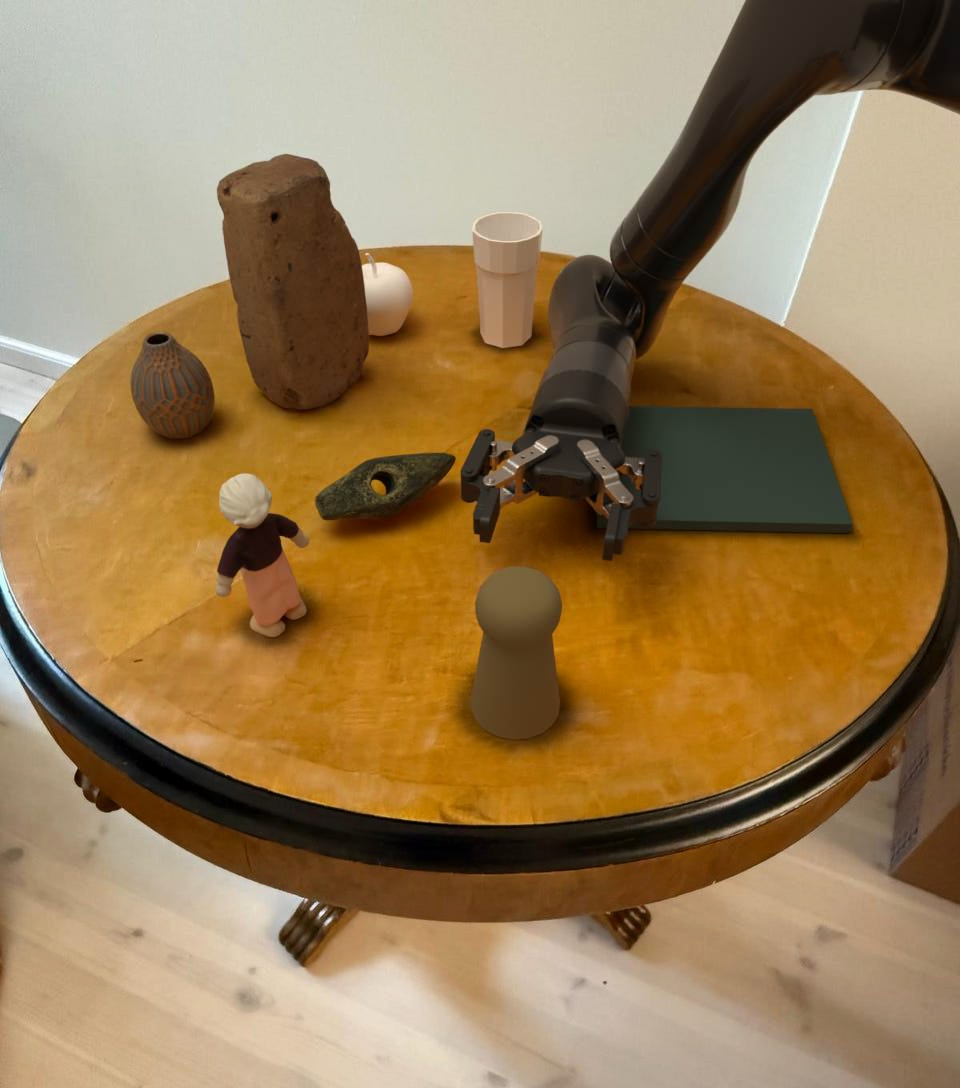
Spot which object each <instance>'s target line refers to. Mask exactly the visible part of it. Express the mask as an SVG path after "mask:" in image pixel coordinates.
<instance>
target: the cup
mask: <svg viewBox="0 0 960 1088" xmlns="http://www.w3.org/2000/svg"><path fill="white" fill-rule="evenodd" d="M471 227H472V228H471V229H472V230H471V233H472V247H473V263H474V264H475V266H476V267H475V268H476V280H477V281H476V282H477V298H478V312H479V313H478V314H479V330H480V331H479V333H480V335H481V338H482V340H483V341H484V343H485V344H487V345H490V346H494V347H497V348H501V349H507V348H513V347H521V346H524V344H525V343H527V341H528V340H530V339H531V338H532V334H533V333H532V331H533V318H534V311H535V310H534V309H535V298H536V289H537V278H538V267H539V262H540V261H541V260H540V259H541V250H542V238H543V223H542V222H541V220H539V219H538V218H536V217H535V216H532V215H530V214H527V213H523V212H515V211H497V212H493V213H488V214H485V215H483V216H480V217H478V218H476V219H475V220H474V222H473V223H472V225H471Z"/></svg>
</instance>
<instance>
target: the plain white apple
mask: <svg viewBox="0 0 960 1088" xmlns="http://www.w3.org/2000/svg"><path fill="white" fill-rule="evenodd" d="M364 255H365V256H366V258H367V260H368V261H369V263H364V264H362V271H363V277H364V285H365V296H366V305H367V316H368V329H369V336H378V337H383V336H385V337H386V336H387V335H392V334H395V333H397V332H398V331H399V330H401V328H402V326H403V325H404V322H405V320H406V319H407V315H408V313H409V311H410V309H411V306H412V303H413V297H414V290H413V285H412V283H411V280H410V277H408V275H407V273H406V272H405V271H404V270H403V269H402V268H401V267H398V266H396V265H393V264H390V263H388V262H383V261H382V262H375V260H374V259H373V257H372V256H371V254H370V253H369V252H367V253H365V254H364Z"/></svg>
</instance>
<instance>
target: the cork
mask: <svg viewBox="0 0 960 1088" xmlns="http://www.w3.org/2000/svg"><path fill="white" fill-rule="evenodd" d="M474 609H475V618H476V621H477V623H478V626H479V628H480V630H481V631H482V636H481V641H480V648H479V653H478V658H477V663H476V668H475V669H476V670H475V675H474V680H473V685H472V691H471V697H470V709H471V714H472V716H473V718H474V719H475V721H476V723H477V725H479V726H480V728H482V729H483V730H484V731H485V732H487V733H489V734H491V735H494V736H495V737H498V738H500V739H506V740H513V741H517V740H518V741H519V740H529V739H532V738H534V737H537V736H539V735H542V734H544V733H545V732H547V730H549V729H550V728H551V727H552V726H554V723H555V722H556V720H557V719H558V718H559V715H560V708H561V699H560V689H559V681H558V672H557V664H556V655H555V646H554V638H553V637H554V636H553V634H554V633H555V631H556V629H557V628H558V626H559V624H560V622H561V618H562V613H563V601H562V597H561V593H560V590H559V588H558V586H557V585H556V584H555V582H554V581H553V580H552V579H551V578H550V576H548V575H546V573H544V572H543V571H541V570H538V569H536V568H533V567H529V566H521V565H517V566H515V565H514V566H507V567H505V568H501V569H498V570H496V571H495V572H493V573H491V574H490V575H489V576H487V578H486V579H485V580H484V581H483V582H482V584H481V585H480V586H479V588H478V592H477V594H476V598H475V601H474Z"/></svg>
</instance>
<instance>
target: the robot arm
mask: <svg viewBox="0 0 960 1088" xmlns="http://www.w3.org/2000/svg"><path fill="white" fill-rule="evenodd" d="M722 46H723V47H722V49H721V51H720V52H719V54H718V57H717V58H716V61H715V63H714V64H713V66H712V68H711V71H710V72H709V74H708V76H707V79H706V80H705V82H704V85H703V86H702V89H701V90H700V92H699V94H698V95H699V96H698V97H697V99H696V101H695V104H694V106H693V108H692V110H691V112H690V113H689V116H688V118H687V120H686V122H685V124H684V126H683V128H682V130H681V132H680V133H679V135H678V138H677V139H676V141H675V143H674V145H673V146H672V148H671V150H670V151H669V153H668V155H667V156H666V158H665V160H664V161H663V163H662V164H661V166H660V167H659V168H658V170H657V172H656V173H655V175H654V176H653V178H652V179H651V181H650V182H649V183H648V184H647V186H646V187H645V189H644V190H643V191H642V192H641V195H640V196H639V197H638V199H637V200H636V201H635V203H634V204H633V206H632V207H631V209H630V210H629V211H628V212H627V214H626V215H625V217H624V218H623V219H622V221H621V222H620V224H619V226H618V227H617V228H616V230H615V232H614V233H613V235H612V238H611V241H610V244H609V260H610V261H609V260H607V259H605V258H603V257H601V256H599V255H595V254H583V255H579V256H576V257H575V258H573V259H571V260H570V261H568V262H567V263H566V264H565V265H564V266H563V267H562V269H561V270H560V271H559V273H558V274H557V276H556V278H555V280H554V282H553V286H552V288H551V291H550V295H549V300H548V308H547V310H548V312H547V314H548V315H547V317H548V326H549V332H550V337H551V343H552V349H553V350H552V353H551V356H550V359H549V362H548V365H547V366H546V369H545V370H544V371H543V374H542V376H541V378H540V381H539V383H538V386H537V390H536V393H535V396H534V399H533V402H532V404H531V405H532V406H531V409H530V411H529V414H528V417H527V420H526V424H525V426H524V430H523V433H522V435H520V436H519V437H518V438H516V439H515V440H514V441H513V442H510V441H505V440H499V439H496V432H495V431H494V430H493V429H490V428H484V429H481V430H480V431H479V432H478V434H477V436H476V438H475V440H474V441H473V445H472V446H471V448H470V451H469V453H468V454H467V456H466V459H465V461H464V462H463V465H462V466H461V469H460V497H461V501H462V502H463V503H467V504H471V503H475V502H476V503H475V506H474V509H473V512H472V530H473V534H474V535H476V536H477V535H478V536H479V543H484V544H491V542H492V539H493V536H494V533H495V529H496V527H497V523H498V520H499V518H500V514H501V509H503V508H504V507H506V506H507V505H510V504H511V503H514V504H516V505H519V504H521V503H522V502H525V501H526V500H528V499H530V498H532V497H534V496H535V495H537V494H538V496H539V497H546V498H557V497H558V498H563V499H567V500H569V501H576V502H581V501H582V499H585V501H586V502H587V503H588V504H589V506H591V507H592V509H593V510H594V511H595V513H596V512H597V513H598V514H599V515H601V514H604V515H605V517H606V518H607V519H608V524H607V528H605V529H606V530H605V533H604V539H603V547H602V548H603V549H602V555H601V560H602V561H606V562H607V561H608V562H613V560H614V559H613V558H614V555H618V556H621V555H622V554H623V553H624V552H625V549H626V545H627V537H628V532H629V529H628V528H629V526H630V525H632V524H634V523H640V525H642V526H644V527H653V526H654V525H655V524H656V519H657V509H658V503H659V501H660V493H661V470H662V453H661V452H660V451H658V450H648V451H647V452H646V454H645V458H635V457H625V455H624V453H623V451H622V450H621V447H622V442H623V437H624V432H625V427H626V424H627V421H628V418H629V407H630V406H631V400H632V386H631V385H632V381H633V376H634V371H635V366H636V361H637V360H639V359H641V358H642V357H644V356H645V355H646V354H647V353H648V352H649V351H650V350H651V348H652V347H653V345H654V344H655V342H656V340H657V338H658V336H659V334H660V332H661V329H662V327H663V323H664V321H665V319H666V316H667V313H668V310H669V307H670V305H671V304H672V301H673V299H674V297H675V296H676V294H677V292H678V290H679V289H680V287H681V286H682V284H683V282H684V281H685V280H686V279H687V277H689V276H690V274H691V273H692V272H693V271H694V269H696V268H697V266H698V265H699V264H700V263H701V261H702V260H703V259H704V258H706V256H707V255H708V254H709V252H710V251H712V249H713V248H714V246H715V245H716V244H717V243H718V242H719V240H720V239H721V238H722V237H723V235H724V233H726V231H727V230H728V228H729V227H730V224H731V223H732V221H733V219H734V216H735V215H736V212H737V210H738V207H739V205H740V201H741V197H742V194H743V189H744V184H745V180H746V179H745V178H746V176H747V172H748V170H749V167H750V164H751V162H752V160H753V158H754V156H755V155H756V153H757V152H758V151H759V149H760V148H761V146H762V145H763V144H764V143H765V141H767V139H768V138H769V137H770V136H771V135H772V133H773V132H775V130H777V129H778V128H779V127H780V125H782V124H783V123H784V122H785V121H786V120H788V118H790V116H791V115H792V114H794V113H795V112H796V111H798V109H799V108H800V107H802V106H803V105H804V104H805V103H807V102H808V101H809V100H810V99H811V98H813V97H814V96H827V95H830V96H831V95H838V94H846V93H853V92H862V91H875V90H876V91H891V92H894V93H899V94H903V95H907V96H910V97H913V98H916V99H919V100H922V101H925V102H927V103H930V104H933V105H935V106H938V107H940V108H943V109H945V110H947V111H951V112H952V113H955V114H957V115H960V0H744V2H743V4H742V5H741V9H740V11H739V12H738V15H737V17H736V19H735V21H734V23H733V25H732V27H731V29H730V32H729V33H728V36H727V38H726V39H725V41H724V44H723V45H722ZM504 461H505V462H504ZM502 462H504V464H503V466H502V467H500V468H498V466H499V465H501V464H502ZM491 471H492V472H491ZM490 472H491V473H490ZM623 474H626V475H628V476H630V477H631V480H632V482H633V483H634V484H635V488H636V489H637V490H640V489H641V496H637V497H633V495H632V494H631V493H630V492H629V491H628V490H627V489H626V488H625V487H624V485H623V484H622V483H621V482H620V478H621V477H622V475H623Z"/></svg>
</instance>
